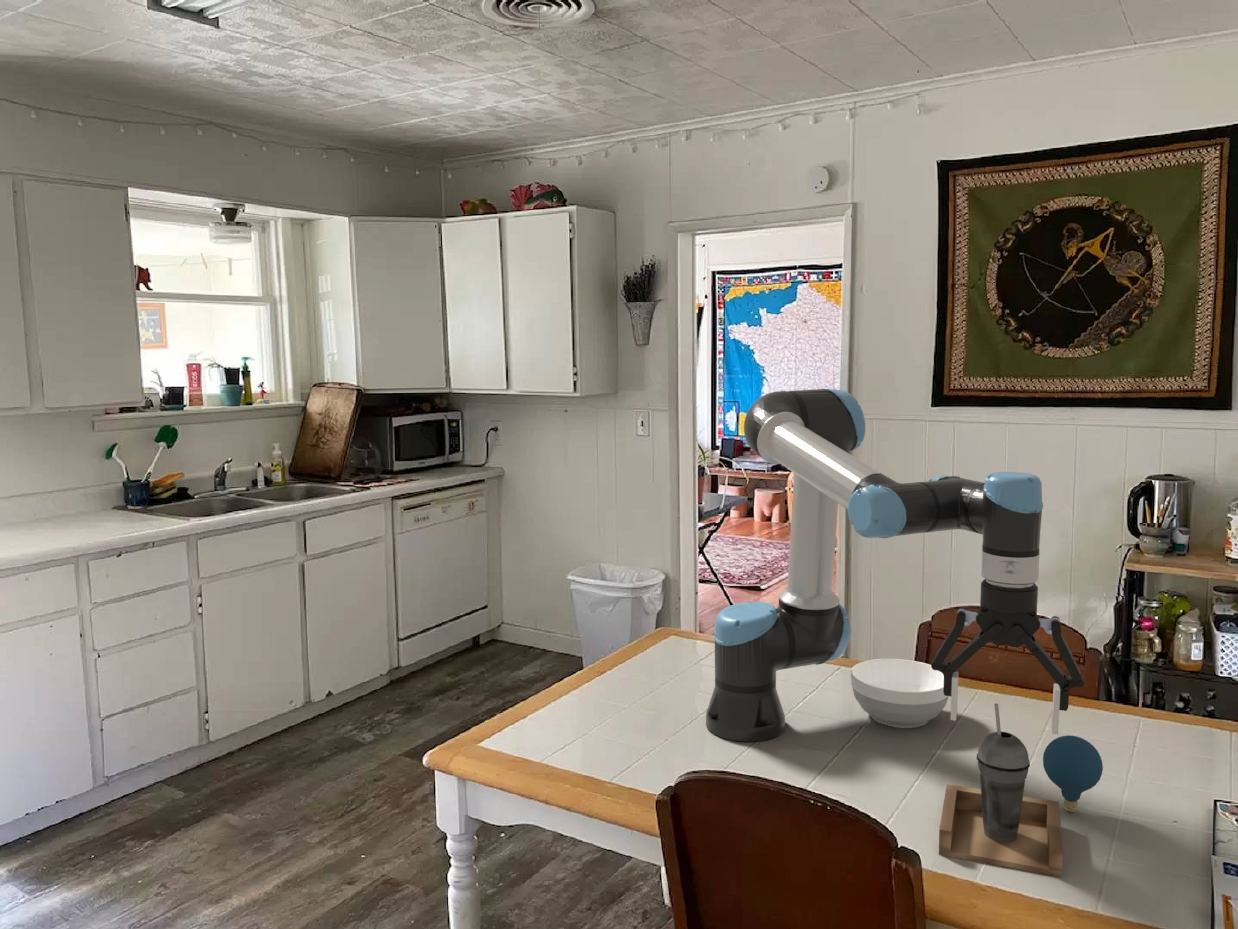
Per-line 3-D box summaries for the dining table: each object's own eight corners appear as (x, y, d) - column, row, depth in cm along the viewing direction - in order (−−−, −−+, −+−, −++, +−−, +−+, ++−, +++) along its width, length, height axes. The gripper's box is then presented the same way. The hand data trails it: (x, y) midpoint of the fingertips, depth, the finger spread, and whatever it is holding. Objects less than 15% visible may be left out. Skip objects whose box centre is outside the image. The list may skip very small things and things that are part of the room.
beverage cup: (1032, 850, 134) (1037, 716, 131) (978, 845, 135) (982, 712, 133) (1021, 824, 141) (1026, 696, 138) (970, 820, 142) (974, 693, 140)
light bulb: (1030, 799, 150) (1033, 728, 148) (1080, 797, 151) (1083, 725, 149) (1059, 826, 142) (1062, 750, 140) (1112, 823, 142) (1116, 748, 141)
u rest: (938, 854, 134) (939, 829, 134) (946, 806, 148) (946, 784, 148) (1061, 877, 128) (1062, 851, 128) (1057, 825, 142) (1058, 801, 141)
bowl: (842, 729, 179) (843, 685, 178) (857, 694, 196) (857, 654, 195) (947, 743, 172) (948, 697, 171) (952, 706, 189) (953, 664, 188)
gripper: (915, 580, 135) (911, 720, 137) (1110, 596, 125) (1101, 747, 128) (920, 568, 142) (916, 702, 144) (1105, 582, 132) (1097, 726, 135)
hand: (1003, 724), depth 136 cm, fingers open, 13 cm apart
